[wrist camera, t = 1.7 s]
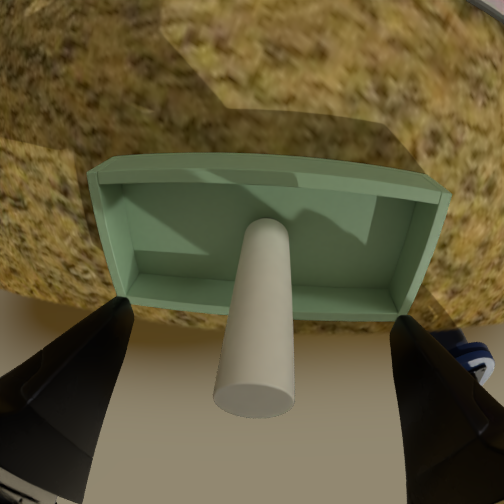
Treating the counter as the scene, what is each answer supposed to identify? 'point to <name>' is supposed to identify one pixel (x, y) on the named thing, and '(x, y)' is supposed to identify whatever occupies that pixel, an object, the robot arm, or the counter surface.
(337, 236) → the tray
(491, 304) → the counter surface
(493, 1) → the tablet
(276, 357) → the stylus
